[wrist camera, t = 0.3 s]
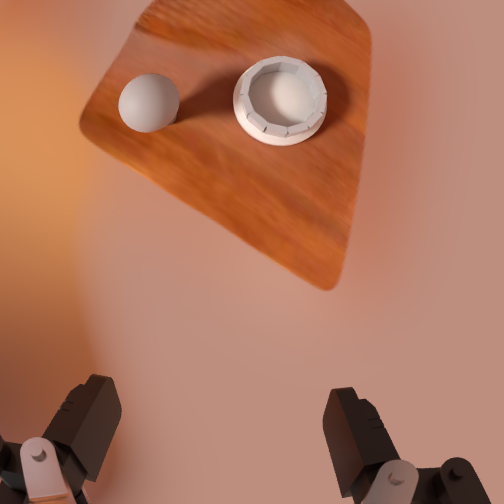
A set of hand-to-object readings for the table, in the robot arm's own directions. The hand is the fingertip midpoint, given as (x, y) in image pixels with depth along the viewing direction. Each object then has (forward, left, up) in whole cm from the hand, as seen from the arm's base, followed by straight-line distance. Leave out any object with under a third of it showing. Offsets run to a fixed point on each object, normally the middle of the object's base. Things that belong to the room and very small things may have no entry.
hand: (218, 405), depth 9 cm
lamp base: (-18, +2, -28) cm, 33 cm away
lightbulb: (-14, -11, -28) cm, 33 cm away
